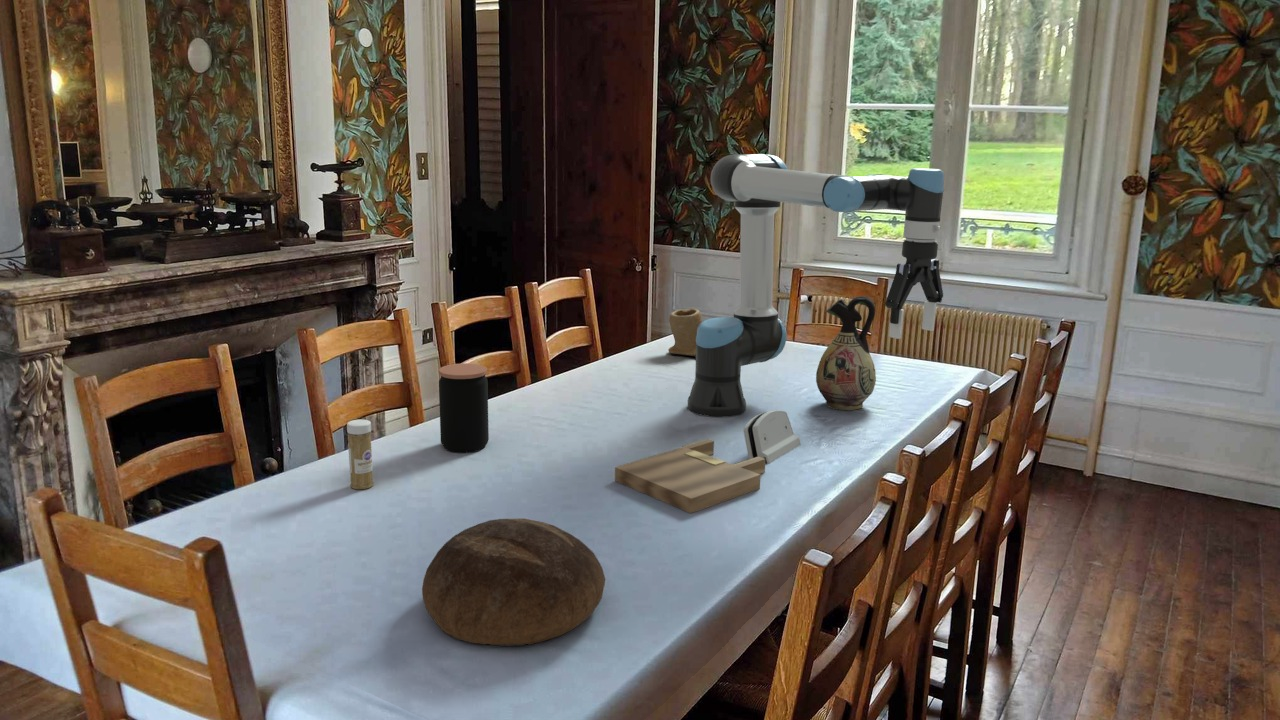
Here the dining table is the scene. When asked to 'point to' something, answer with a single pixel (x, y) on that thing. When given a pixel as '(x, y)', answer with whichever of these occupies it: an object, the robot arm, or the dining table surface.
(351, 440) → the sprinkles bottle
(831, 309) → the ceramic jug
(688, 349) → the stone cup
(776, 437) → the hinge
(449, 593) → the bread
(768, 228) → the robot arm
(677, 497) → the brown flat wooden slab
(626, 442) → the dining table surface
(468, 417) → the coffee jar
